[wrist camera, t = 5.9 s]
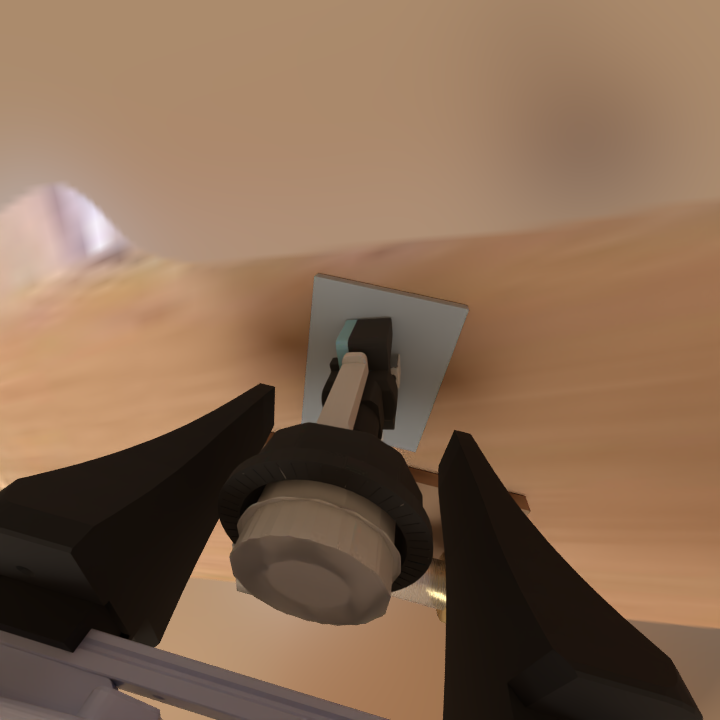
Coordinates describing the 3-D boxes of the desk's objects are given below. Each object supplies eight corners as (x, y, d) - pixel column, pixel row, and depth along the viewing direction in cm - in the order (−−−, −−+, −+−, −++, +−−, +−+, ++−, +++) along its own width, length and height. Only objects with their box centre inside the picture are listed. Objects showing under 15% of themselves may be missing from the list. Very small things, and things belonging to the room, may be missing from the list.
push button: (425, 423, 16) (435, 679, 8) (332, 421, 17) (249, 644, 9) (423, 306, 13) (436, 517, 5) (310, 313, 14) (147, 494, 6)
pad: (466, 305, 13) (468, 309, 13) (415, 444, 18) (415, 452, 17) (318, 272, 14) (314, 276, 13) (304, 417, 18) (301, 423, 18)
